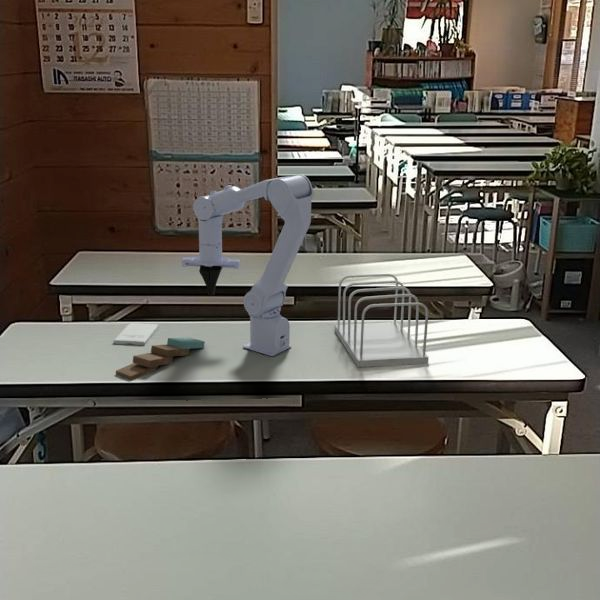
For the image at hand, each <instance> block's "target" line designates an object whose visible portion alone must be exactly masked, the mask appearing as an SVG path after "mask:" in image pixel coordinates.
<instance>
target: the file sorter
mask: <svg viewBox="0 0 600 600" xmlns="http://www.w3.org/2000/svg"><path fill="white" fill-rule="evenodd" d="M366 277H367V278H373V277H375V278H376V277H391V278H393V279H394V280H384V281H383V280H381V281H380V280H379V281H362V282H361V281H360V282H352V283H349V284H347V285H346V286H345V288H344V289H343V293H342V284H343V282H344V280H346V279H350V278H366ZM383 284H386V285H387V284H395V286H390V287H389V286H388V287H376V288H373V287H372V288H362V289H361V288H360V289H356V290H354V291H352V292H351V293H350V294H349V297H348V303H347V305H348V307H347V308H348V309H347V315H348V316H347V323H346V292H347V290H348V289H349V288H351V287H353V286H368V285H383ZM399 285H400V286H399ZM399 290H401V291H402V292H401V293H398V292H399ZM378 291H379V292H380V291H381V292H382V291H395V294H386V295H373V296H372V295H371V296H364V297H361V298H359V299H358V300H357V301H356V303H355V305H354V313H353V314H354V315H353V316H354V319H353V320H354V321H353V323H351V319H352V318H351V314H352V312H351V310H352V306H351V305H352V298H353V296H354V295H355V294H357V293H364V292H365V293H367V292H368V293H369V292H378ZM405 291H406V292H405ZM341 293H342V294H341ZM341 295H342V300H341ZM406 297H407V298H408V302H405V298H406ZM390 298H391V299H392V298H394V303H393V302H392V303H378V304H377V303H373V304H369V305H367V306H366V307H365V308H364V309H363V310H362V313H361V323H357V322H358V321H357V320H358V317H357V316H358V306H359V304H360V303H361V302H363V301H365V300H366V301H367V300H379V299H390ZM398 298H401V302H398ZM412 298H413V299H414V300H415V302H412ZM337 301H338V302H337V324H334V328H333V329H334V332H335V333H336V335H337V337H338V338H339V340H340V341H341V343H342V344H343V347H345V349H346V351H347V352H348V353H349V355H350V357H351V358H352V359H353V361H354V363H355V364H356V366H357V367H359V368H362V367H363V368H365V367H379V366H381V367H382V366H397V365H398V366H399V365H418V364H422V365H423V364H429V356H428V354H427V353H426V351H427V350H426V349H427V348H426V347H427V334H428V323H429V309H428V307H427V306H426V305H425V304H424V303H422V302H419V299H418V297H417V296H416V295H414V294H412V293H411V291H410V289H408V288H407V287H405V286H404V284H403V283H402V282H401V281H399V280H398V278H397V277H396V276H395V275H394V274H392V273H378V274H377V273H375V274H374V273H372V274H351V275H350V274H349V275H344V276H343V277H342V278H341V279H340V281H339V283H338V299H337ZM341 301H342V323H341ZM405 306H408V315H407V316H408V317H407V318H408V319H407V332H406V330H405V329H404V327H403V326H404V315H405V314H404V311H405ZM412 306H416V307H415V308H416V310H415V311H416V312H415V331H414V333H415V334H414V339H413V338H412V337H411V336H410V335H411V316H412V315H411V314H412ZM377 307H379V308H380V307H394V314H393V321H392V322H389V321H388V322H370V323H366V322H365V315H366V313H367V312H368V310H369V309H372V308H377ZM398 307H401V311H400V323H398V322H397V314H398V312H397V311H398ZM420 307H423V308H424V310H425V318H424V320H425V321H424V332H423V344H422V345H423V346H422V348H421V347H420V346H419V345H418V336H419V334H418V333H419V332H418V331H419V312H420Z"/></svg>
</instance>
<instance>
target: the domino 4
mask: <svg viewBox="0 0 600 600" xmlns="http://www.w3.org/2000/svg"><path fill="white" fill-rule="evenodd" d="M205 342H206V341H204V340H201V339H198V338H197V339H196V338H193V337H189V336H188V337H187V336H185V337H168V338H167V342H166V343H167V344H166V345H170V346H174V347H177V348H181V349H190V350H191V349H204V348H205Z"/></svg>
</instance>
